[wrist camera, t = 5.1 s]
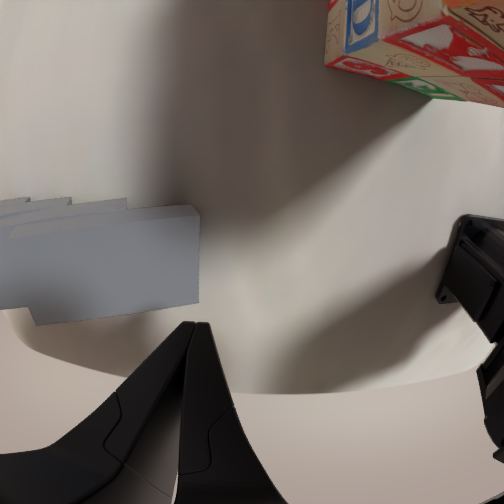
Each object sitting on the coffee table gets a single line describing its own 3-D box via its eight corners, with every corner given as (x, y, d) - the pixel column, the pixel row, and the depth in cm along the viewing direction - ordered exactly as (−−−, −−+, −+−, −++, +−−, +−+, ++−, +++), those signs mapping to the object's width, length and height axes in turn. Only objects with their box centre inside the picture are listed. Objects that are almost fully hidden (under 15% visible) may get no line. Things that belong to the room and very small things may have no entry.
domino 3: (199, 215, 12) (6, 239, 8) (198, 302, 14) (36, 325, 10) (191, 203, 13) (16, 225, 9) (190, 285, 15) (40, 306, 12)
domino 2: (126, 208, 12) (-29, 233, 8) (136, 292, 14) (-2, 309, 10) (126, 198, 13) (-18, 221, 9) (133, 276, 15) (5, 293, 11)
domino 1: (66, 205, 12) (-54, 224, 8) (78, 284, 14) (-33, 293, 10) (71, 196, 13) (-44, 214, 9) (80, 270, 15) (-26, 280, 11)
